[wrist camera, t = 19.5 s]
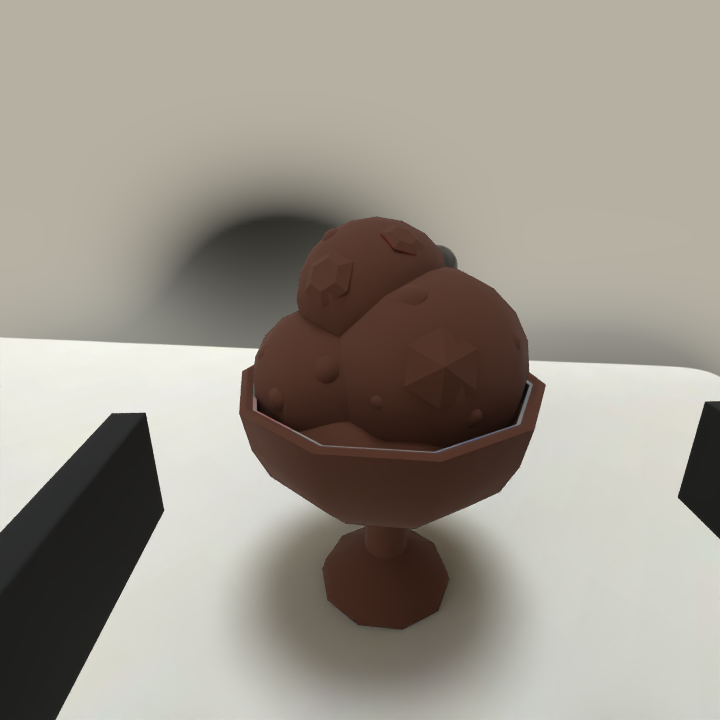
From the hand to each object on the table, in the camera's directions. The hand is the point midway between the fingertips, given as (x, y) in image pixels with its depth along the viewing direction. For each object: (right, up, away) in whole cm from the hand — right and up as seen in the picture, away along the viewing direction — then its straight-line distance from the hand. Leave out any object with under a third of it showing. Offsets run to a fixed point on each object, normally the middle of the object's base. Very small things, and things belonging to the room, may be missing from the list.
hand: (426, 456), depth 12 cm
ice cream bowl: (0, -7, +10) cm, 12 cm away
